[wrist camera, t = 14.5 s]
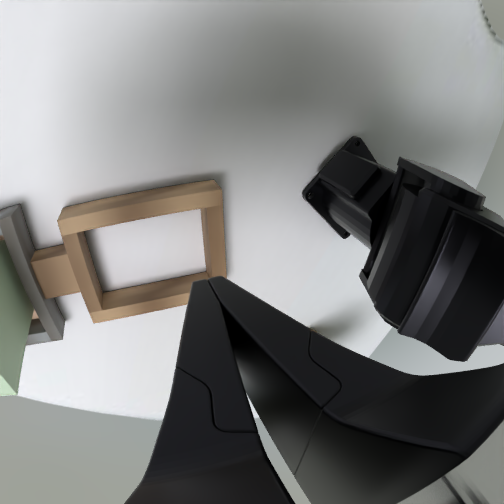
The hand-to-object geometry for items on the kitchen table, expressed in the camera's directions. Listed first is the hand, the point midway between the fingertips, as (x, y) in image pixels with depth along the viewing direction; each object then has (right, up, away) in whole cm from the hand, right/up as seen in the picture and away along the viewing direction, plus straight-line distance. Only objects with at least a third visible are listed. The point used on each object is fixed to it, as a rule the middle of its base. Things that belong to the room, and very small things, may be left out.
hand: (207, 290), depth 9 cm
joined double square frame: (-11, 0, +10) cm, 15 cm away
